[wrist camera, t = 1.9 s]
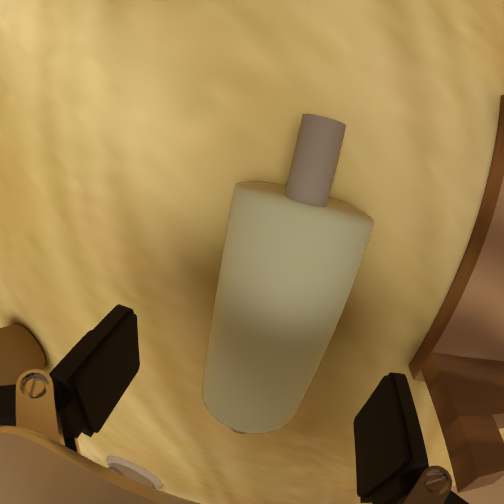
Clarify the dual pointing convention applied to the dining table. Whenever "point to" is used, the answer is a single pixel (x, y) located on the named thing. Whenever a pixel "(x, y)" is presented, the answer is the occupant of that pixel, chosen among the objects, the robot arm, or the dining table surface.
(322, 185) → the roll
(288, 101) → the dining table surface
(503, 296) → the holder
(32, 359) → the squeeze bottle
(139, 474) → the french press
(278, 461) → the dining table surface
